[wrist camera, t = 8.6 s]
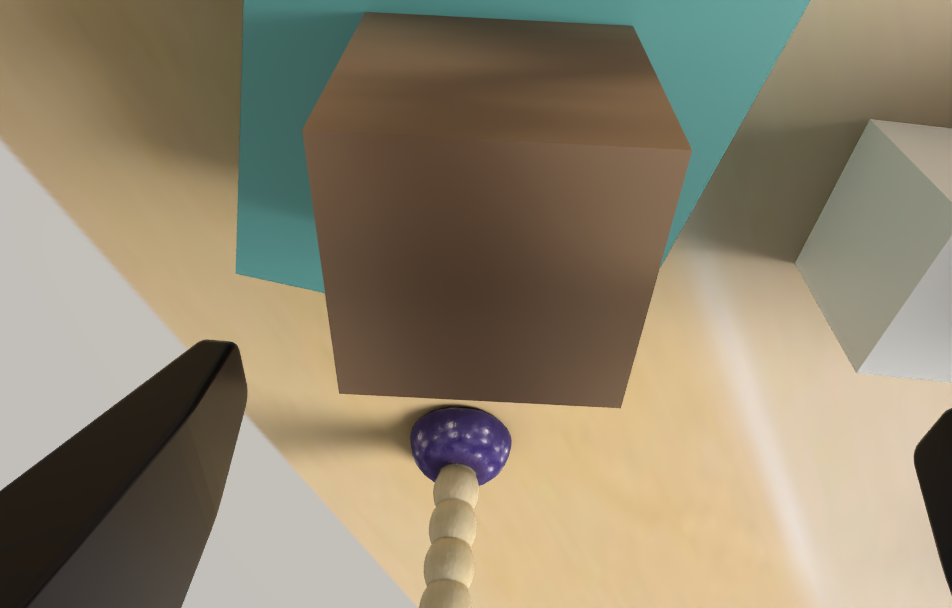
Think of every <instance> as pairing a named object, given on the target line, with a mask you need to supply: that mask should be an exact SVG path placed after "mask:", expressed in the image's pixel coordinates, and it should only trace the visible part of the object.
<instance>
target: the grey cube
mask: <svg viewBox="0 0 952 608" xmlns="http://www.w3.org/2000/svg"><path fill="white" fill-rule="evenodd" d="M795 265H796V267H797V268H798V270H799V272H800V274H801V275H802V277H803V279H804V281H805V283H806V284H807V286H808V288H809V290H810V292H811V293H812V295H813V297H814V299H815V300H816V302H817V304H818V306H819V308H820V309H821V311H822V313H823V315H824V316H825V318H826V320H827V322H828V324H829V325H830V327H831V329H832V331H833V332H834V334H835V336H836V338H837V340H838V341H839V343H840V345H841V347H842V348H843V350H844V352H845V354H846V356H847V357H848V359H849V361H850V363H851V365H852V366H853V368H854V370H855V372H856V373H859V374H870V375H880V376H890V377H900V378H910V379H920V380H931V381H941V382H951V383H952V128H945V127H936V126H927V125H918V124H909V123H900V122H892V121H883V120H874V119H870V120H869V122H868V124H867V126H866V127H865V129H864V131H863V133H862V135H861V137H860V139H859V141H858V143H857V145H856V147H855V149H854V151H853V152H852V154H851V156H850V158H849V160H848V162H847V164H846V166H845V168H844V170H843V172H842V174H841V176H840V178H839V179H838V181H837V183H836V185H835V187H834V189H833V191H832V193H831V195H830V197H829V199H828V201H827V203H826V204H825V206H824V208H823V210H822V212H821V214H820V216H819V218H818V220H817V222H816V224H815V226H814V228H813V230H812V231H811V233H810V235H809V237H808V239H807V241H806V243H805V245H804V247H803V249H802V251H801V253H800V255H799V256H798V258H797V260H796V262H795Z"/></svg>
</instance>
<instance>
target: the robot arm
mask: <svg viewBox="0 0 952 608" xmlns="http://www.w3.org/2000/svg"><path fill="white" fill-rule="evenodd" d="M246 402H247V383H246V378H245V374H244V369H243V364H242V359H241V355H240V351H239V348H238V346H237V345H236V344H235V343H233V342H229V341H217V340H202V341H200V342H198V343H196V344H195V345H194V346H192V347H191V348H190V349H188V350H187V351H186V352H185V353H183V354H182V355H180V356H179V357H178V358H176V359H175V360H174V361H172V362H171V363H170V364H168V365H167V366H166V367H165V368H163V369H162V370H161V371H160V372H158V373H156V374H155V375H154V376H153V377H151V378H150V379H149V380H147V381H146V382H145V383H143V384H142V385H141V386H139V387H138V388H137V389H135V390H134V391H133V392H131V393H130V394H129V395H127V396H126V397H125V398H124V399H122V400H121V401H119V402H118V403H117V404H115V405H114V406H113V407H111V408H110V409H109V410H107V411H106V412H105V413H103V414H102V415H101V416H99V417H98V418H97V419H96V420H94V421H93V422H91V423H90V424H89V425H87V426H86V427H85V428H83V429H82V430H81V431H79V432H78V433H77V434H75V435H74V436H73V437H71V438H70V439H69V440H67V441H66V442H65V443H63V444H62V445H61V446H59V447H58V448H57V449H55V450H54V451H53V452H52V453H50V454H49V455H47V456H46V457H45V458H44V459H42V460H41V461H39V462H38V463H37V464H36V465H34V466H33V467H32V468H30V469H29V470H27V471H26V472H25V473H23V474H22V475H21V476H20V477H18V478H17V479H15V480H14V481H13V482H12V483H10V484H9V485H7V486H6V487H5V488H3V489H2V490H1V491H0V608H181V607H182V604H183V602H184V599H185V596H186V594H187V591H188V589H189V586H190V583H191V581H192V578H193V576H194V573H195V571H196V568H197V566H198V563H199V561H200V558H201V555H202V553H203V550H204V548H205V545H206V542H207V540H208V538H209V535H210V532H211V530H212V527H213V524H214V521H215V518H216V516H217V512H218V509H219V505H220V502H221V498H222V495H223V491H224V487H225V483H226V479H227V476H228V472H229V468H230V464H231V460H232V456H233V453H234V449H235V445H236V441H237V437H238V433H239V430H240V426H241V422H242V418H243V415H244V411H245V407H246ZM914 465H915V469H916V473H917V477H918V480H919V484H920V488H921V491H922V495H923V499H924V502H925V506H926V510H927V514H928V517H929V521H930V525H931V528H932V532H933V536H934V539H935V543H936V547H937V551H938V554H939V558H940V561H941V565H942V568H943V571H944V575H945V578H946V581H947V583H948V586H949V589H950V592H951V595H952V408H951V409H949V410H947V411H945V412H944V413H943V414H942V416H941V417H940V418H939V419H938V420H937V422H936V423H935V424H934V425H933V426H932V428H931V429H930V430H929V431H928V432H927V433H926V435H925V436H924V437H923V438H922V439H921V441H920V442H919V443H918V445H917V446H916V449H915V452H914Z"/></svg>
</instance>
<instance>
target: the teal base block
mask: <svg viewBox="0 0 952 608" xmlns="http://www.w3.org/2000/svg"><path fill="white" fill-rule="evenodd" d="M809 2H810V0H244V7H243V42H242V76H241V111H240V145H239V180H238V214H237V249H236V274H240V275H245V276H249V277H254V278H258V279H263V280H268V281H272V282H277V283H281V284H286V285H290V286H295V287H300V288H304V289H309V290H313V291H318V292H322V293H325V289H324V282H323V275H322V268H321V261H320V254H319V247H318V240H317V233H316V225H315V218H314V211H313V204H312V197H311V190H310V183H309V176H308V169H307V162H306V155H305V147H304V140H303V133H302V129H303V127H304V125H305V123H306V122H307V120H308V118H309V116H310V114H311V112H312V110H313V109H314V107H315V105H316V103H317V101H318V99H319V97H320V96H321V94H322V92H323V90H324V88H325V86H326V84H327V83H328V81H329V79H330V77H331V75H332V73H333V71H334V70H335V68H336V66H337V64H338V62H339V60H340V58H341V57H342V55H343V53H344V51H345V49H346V47H347V45H348V43H349V42H350V40H351V38H352V36H353V34H354V32H355V30H356V29H357V27H358V25H359V23H360V21H361V19H362V17H363V16H364V14H365V12H378V13H397V14H416V15H435V16H454V17H473V18H492V19H511V20H530V21H549V22H568V23H587V24H606V25H625V26H633V27H634V29H635V31H636V33H637V35H638V37H639V39H640V41H641V43H642V46H643V48H644V50H645V52H646V54H647V56H648V58H649V60H650V62H651V64H652V67H653V69H654V71H655V73H656V75H657V77H658V79H659V81H660V83H661V85H662V88H663V90H664V92H665V94H666V96H667V98H668V100H669V102H670V104H671V107H672V109H673V111H674V113H675V115H676V117H677V119H678V121H679V123H680V125H681V128H682V130H683V132H684V134H685V136H686V138H687V140H688V142H689V144H690V146H691V149H692V153H691V157H690V161H689V164H688V168H687V171H686V175H685V179H684V182H683V186H682V189H681V193H680V197H679V200H678V204H677V207H676V211H675V214H674V218H673V222H672V225H671V229H670V232H669V236H668V240H667V243H666V247H665V250H664V254H663V258H662V261H661V265H662V263H663V262H664V260H665V258H666V256H667V255H668V253H669V251H670V249H671V247H672V246H673V244H674V242H675V240H676V239H677V237H678V235H679V233H680V231H681V230H682V228H683V226H684V224H685V223H686V221H687V219H688V217H689V215H690V214H691V212H692V210H693V208H694V207H695V205H696V203H697V201H698V200H699V198H700V196H701V194H702V192H703V191H704V189H705V187H706V185H707V184H708V182H709V180H710V178H711V176H712V175H713V173H714V171H715V169H716V168H717V166H718V164H719V162H720V160H721V159H722V157H723V155H724V153H725V152H726V150H727V148H728V146H729V144H730V143H731V141H732V139H733V137H734V136H735V134H736V132H737V130H738V128H739V127H740V125H741V123H742V121H743V120H744V118H745V116H746V114H747V112H748V111H749V109H750V107H751V105H752V104H753V102H754V100H755V98H756V96H757V95H758V93H759V91H760V89H761V88H762V86H763V84H764V82H765V80H766V79H767V77H768V75H769V73H770V72H771V70H772V68H773V66H774V64H775V63H776V61H777V59H778V57H779V56H780V54H781V52H782V50H783V48H784V47H785V45H786V43H787V41H788V40H789V38H790V36H791V34H792V32H793V31H794V29H795V27H796V25H797V24H798V22H799V20H800V18H801V16H802V15H803V13H804V11H805V9H806V8H807V6H808V4H809ZM661 265H660V267H661ZM659 269H660V268H659Z"/></svg>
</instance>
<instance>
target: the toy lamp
mask: <svg viewBox="0 0 952 608" xmlns="http://www.w3.org/2000/svg"><path fill="white" fill-rule="evenodd" d="M410 439H411V448H412V453H413V457H414V459H415V462H416V464H417V465H418V467H419V469H420V470H421V471H422V472H423V474H424V475H425V476H427V477H428V478H429V479H431V480H432V481H433V482H435V484H434V491H433V496H434V502H435V505H436V508H435V509H434V511H433V513H432V516H431V519H430V524H429V536H430V541H431V544H432V545H431V547H430V548H429V550H428V552H427V554H426V557H425V562H424V578H425V582H426V585H427V588H426V589H425V591H424V593H423V595H422V598H421V601H420V606H419V608H472V602H471V597H470V594H469V592H468V588H469V587H470V585H471V582H472V579H473V575H474V564H475V563H474V556H473V553H472V550H471V546H472V545H473V542H474V539H475V536H476V528H477V523H476V516H475V513H474V511H473V509H474V508H475V506H476V503H477V500H478V495H479V486H480V485H483V484H485V483H487V482H488V481H490V480H491V479H493V478H494V477H496V475H498V474H499V472H500V471H501V469H502V468H503V466H504V465H505V463H506V461H507V459H508V456H509V453H510V449H511V436H510V434H509V431H508V429H507V428H506V427H505V426H504V425H503V423H502V422H501V421H499V420H498V419H497V418H495V417H494V416H492V415H490V414H487V413H486V412H483V411H481V410H475V409H468V408H446V409H442V410H436V411H433V412H430V413H428V414H427V415H425V416H424V417H422V418H420V420H419V421H418V422H417V423H416V424H415V425H414V427H413V429H412V432H411V437H410Z"/></svg>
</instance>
